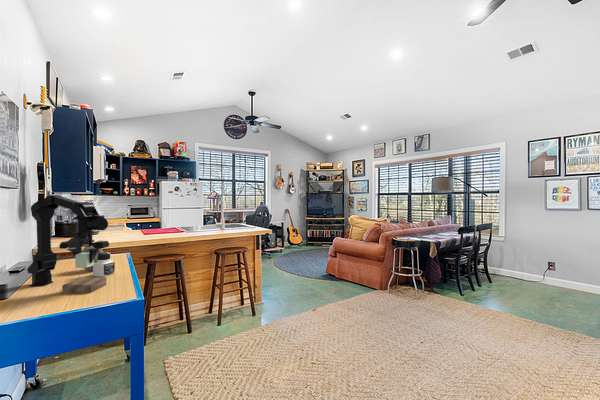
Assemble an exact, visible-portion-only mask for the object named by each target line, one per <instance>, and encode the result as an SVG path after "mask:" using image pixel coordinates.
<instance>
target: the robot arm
mask: <svg viewBox="0 0 600 400" xmlns="http://www.w3.org/2000/svg"><path fill="white" fill-rule="evenodd" d="M59 207H61V208H65V209H68V210H70V211H71V213H73V214H75V215H76V216H75V217H73V220H74V221H76V223H77V224H76V225H77V226H76V227H77V228H76V229H77V230H76V232H75V233H74V236H73V237H71V238H70V239H68V240H66V241H65V240H64V241H62V242H60V244H59V246H58V247H59V249H63V250H64V249H66V250H67V251H69V252H71V253H72V255H73V257H74V258H75V255H76V254H79V253H81V252H82V250H83V249H82V247H84V248H85V247H91V249H88V250H89V252H90V258H89V261H90V263H92V262H93V260H94V258H95V256H96V254H97V252H98V251H99V249H105V248H108V247H110V242H109V241H108V240H98V241H95V239H93V234H95V231H106V229H108V226H109V222H108V220H107V218H105V215H101V214H100V212H99V210H98V209H97V207H96V206H95V203H94V202H89V201H77V200H74V199H72V198H68V197H64V196H61V195H59V194H49V195H46V197H45V198H42V199H39V200H38V201H35V202H34V203H33V204H32V205H31V206H30V212H31V213H30V214H31V216H32V218H33V219H34V220H35V221H36V247H37V248H36V249H37V252H36V253H35V254H34V256H33V257H32V263H31V264H30V265H29V266H28V268H27V269H26V271H27V273H28V274H31V283H29V287H42V286H43V287H45V286H46V285H49V284H51V283H54V280H52V275H53V274H52V273H51V271H54V270H55V268H56V265H57V261H58V258H57V256H58V255H57V253H56V252H54V251H53V250H52V238H51V236H52V235H51V220H52V219H53V217H54V215H55V211H56V210H57V209H58V208H59Z"/></svg>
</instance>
